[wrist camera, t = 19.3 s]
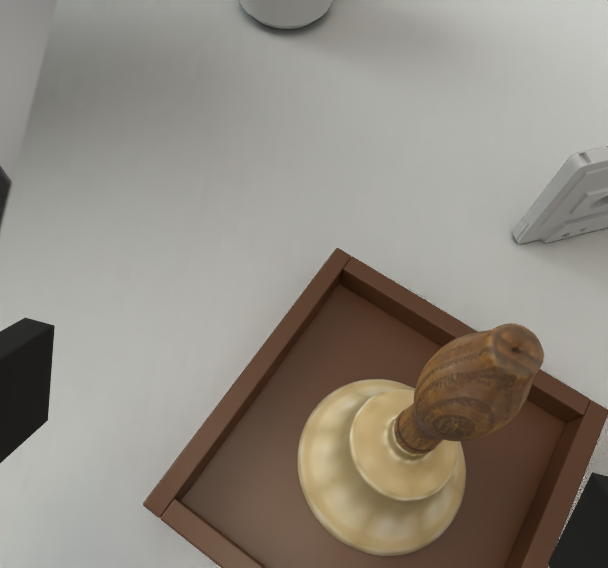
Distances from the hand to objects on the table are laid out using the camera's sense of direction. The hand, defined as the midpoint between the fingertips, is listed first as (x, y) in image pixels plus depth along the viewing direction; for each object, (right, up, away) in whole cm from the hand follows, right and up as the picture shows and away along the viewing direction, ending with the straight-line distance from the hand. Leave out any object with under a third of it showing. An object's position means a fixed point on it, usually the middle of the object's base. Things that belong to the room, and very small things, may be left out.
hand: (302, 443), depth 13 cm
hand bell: (+4, -5, +13) cm, 15 cm away
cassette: (+19, +8, +22) cm, 30 cm away
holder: (+4, -5, +14) cm, 15 cm away
